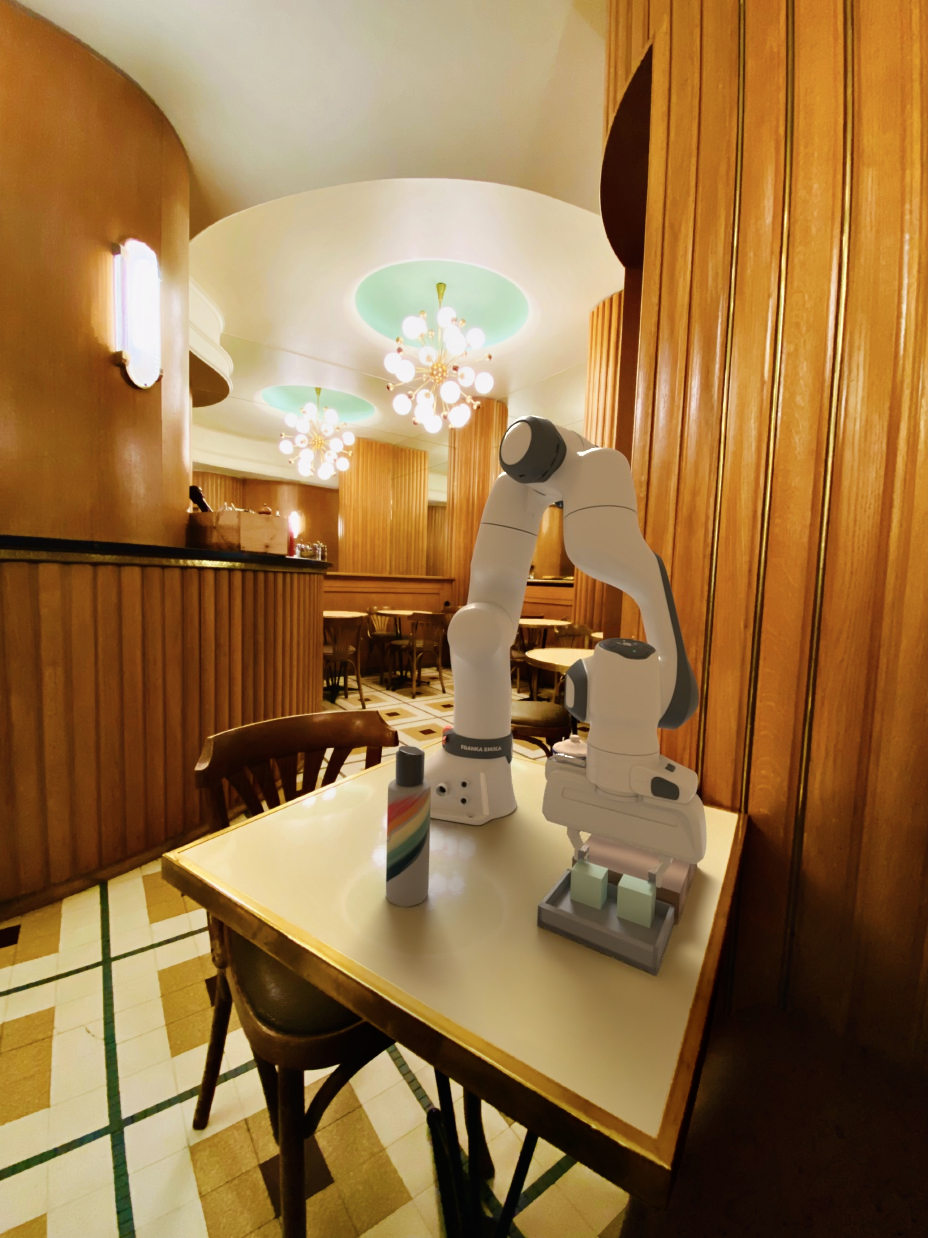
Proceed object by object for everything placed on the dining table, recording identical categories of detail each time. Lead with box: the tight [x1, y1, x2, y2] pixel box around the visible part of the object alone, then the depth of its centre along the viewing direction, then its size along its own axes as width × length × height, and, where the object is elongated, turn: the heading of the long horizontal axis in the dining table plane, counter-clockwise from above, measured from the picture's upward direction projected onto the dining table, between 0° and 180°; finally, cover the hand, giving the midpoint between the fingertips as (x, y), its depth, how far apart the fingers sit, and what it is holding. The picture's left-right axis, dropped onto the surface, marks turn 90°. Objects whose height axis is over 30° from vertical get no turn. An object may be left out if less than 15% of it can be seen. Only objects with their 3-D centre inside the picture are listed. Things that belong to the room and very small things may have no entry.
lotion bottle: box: [385, 745, 431, 908], centre depth 65 cm, size 6×6×20 cm
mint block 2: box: [617, 874, 656, 928], centre depth 61 cm, size 4×4×3 cm
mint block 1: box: [570, 861, 608, 910], centre depth 64 cm, size 4×4×3 cm
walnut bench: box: [571, 834, 698, 925], centre depth 72 cm, size 16×14×4 cm
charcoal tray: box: [536, 868, 675, 977], centre depth 61 cm, size 10×14×2 cm
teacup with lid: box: [551, 734, 587, 760], centre depth 101 cm, size 12×9×12 cm
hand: (616, 871), depth 63 cm, fingers open, 8 cm apart
